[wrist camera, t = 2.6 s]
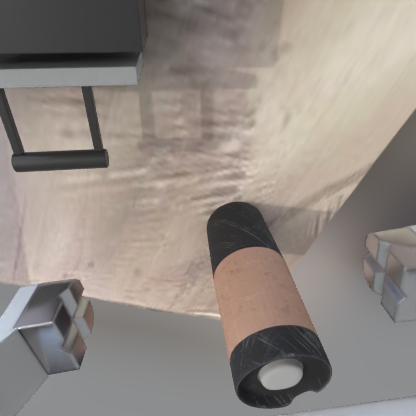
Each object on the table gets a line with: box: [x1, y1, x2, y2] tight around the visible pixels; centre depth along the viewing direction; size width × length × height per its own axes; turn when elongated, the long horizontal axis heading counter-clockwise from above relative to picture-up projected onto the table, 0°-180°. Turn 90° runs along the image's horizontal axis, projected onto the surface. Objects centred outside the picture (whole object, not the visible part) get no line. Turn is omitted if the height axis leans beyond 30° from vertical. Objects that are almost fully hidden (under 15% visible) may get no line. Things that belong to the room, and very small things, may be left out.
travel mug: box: [207, 202, 332, 409], centre depth 32 cm, size 8×8×20 cm
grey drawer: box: [0, 52, 143, 172], centre depth 23 cm, size 19×13×7 cm
